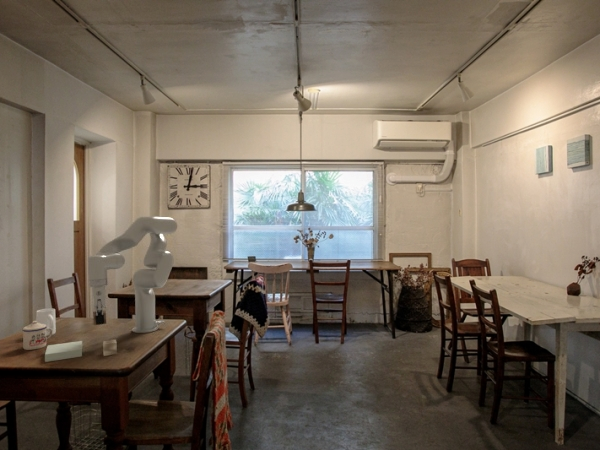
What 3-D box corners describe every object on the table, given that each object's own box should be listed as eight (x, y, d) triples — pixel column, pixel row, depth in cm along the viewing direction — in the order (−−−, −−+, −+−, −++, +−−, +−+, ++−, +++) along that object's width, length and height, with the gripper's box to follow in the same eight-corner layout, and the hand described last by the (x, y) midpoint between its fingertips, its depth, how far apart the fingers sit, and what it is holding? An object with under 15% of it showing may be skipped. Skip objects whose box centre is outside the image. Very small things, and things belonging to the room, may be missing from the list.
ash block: (116, 350, 169) (115, 339, 169) (116, 354, 165) (116, 342, 165) (103, 352, 167) (103, 341, 167) (103, 356, 162) (103, 344, 162)
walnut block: (105, 320, 178) (105, 310, 178) (106, 323, 174) (105, 312, 174) (93, 322, 176) (93, 311, 176) (93, 325, 172) (93, 314, 171)
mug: (43, 338, 187) (42, 314, 187) (33, 334, 194) (33, 310, 194) (61, 334, 193) (61, 310, 193) (51, 330, 200) (51, 307, 200)
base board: (82, 347, 173) (82, 340, 173) (81, 356, 162) (81, 349, 162) (47, 352, 167) (47, 345, 167) (44, 361, 156) (44, 354, 156)
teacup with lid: (29, 351, 168) (28, 325, 168) (18, 348, 173) (18, 322, 173) (57, 343, 179) (57, 318, 179) (47, 340, 183) (46, 316, 183)
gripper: (108, 284, 169) (110, 325, 169) (106, 278, 183) (108, 316, 184) (88, 286, 165) (90, 328, 166) (88, 280, 180) (90, 319, 181)
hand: (99, 321), depth 175 cm, fingers closed on walnut block, 4 cm apart
